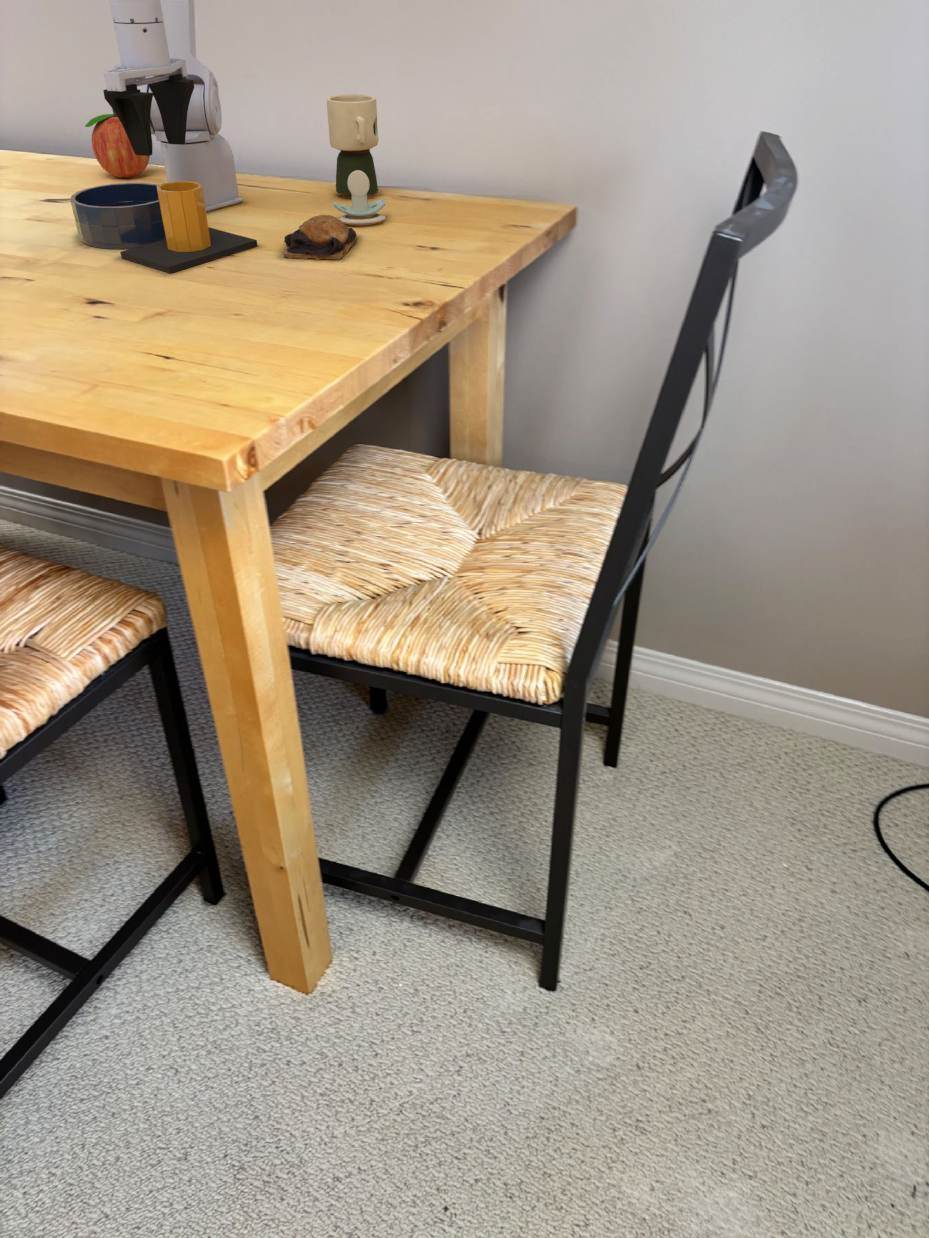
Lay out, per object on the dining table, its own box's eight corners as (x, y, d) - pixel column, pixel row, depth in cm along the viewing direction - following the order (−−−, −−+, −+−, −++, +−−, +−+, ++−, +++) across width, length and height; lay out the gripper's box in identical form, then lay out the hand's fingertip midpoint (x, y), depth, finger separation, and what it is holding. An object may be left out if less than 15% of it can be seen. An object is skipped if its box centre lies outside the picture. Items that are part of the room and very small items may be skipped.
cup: (191, 237, 121) (182, 178, 117) (220, 245, 119) (211, 185, 114) (158, 246, 118) (147, 187, 114) (186, 255, 115) (176, 194, 111)
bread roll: (301, 234, 126) (298, 205, 123) (362, 237, 125) (360, 207, 122) (277, 258, 117) (273, 227, 115) (343, 261, 116) (340, 230, 114)
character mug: (390, 202, 139) (386, 103, 131) (344, 206, 136) (337, 106, 128) (369, 185, 146) (364, 90, 139) (325, 189, 144) (317, 93, 136)
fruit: (98, 171, 153) (83, 102, 147) (158, 168, 155) (146, 100, 148) (95, 183, 146) (79, 112, 140) (158, 180, 148) (145, 109, 142)
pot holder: (209, 233, 125) (208, 227, 125) (257, 246, 121) (256, 240, 120) (121, 258, 117) (119, 251, 116) (170, 273, 112) (169, 266, 112)
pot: (140, 216, 132) (132, 178, 129) (200, 232, 126) (193, 193, 123) (60, 237, 124) (50, 196, 121) (119, 255, 118) (110, 213, 114)
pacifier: (390, 226, 129) (383, 213, 133) (389, 178, 125) (382, 166, 129) (337, 229, 128) (332, 216, 132) (334, 180, 124) (329, 168, 128)
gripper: (144, 16, 117) (164, 137, 125) (71, 26, 106) (98, 158, 114) (194, 18, 115) (211, 140, 123) (125, 28, 104) (149, 162, 112)
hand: (160, 149), depth 118 cm, fingers open, 7 cm apart
